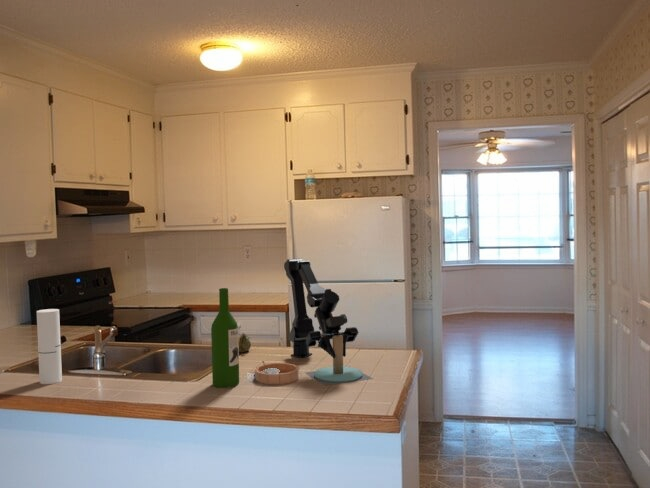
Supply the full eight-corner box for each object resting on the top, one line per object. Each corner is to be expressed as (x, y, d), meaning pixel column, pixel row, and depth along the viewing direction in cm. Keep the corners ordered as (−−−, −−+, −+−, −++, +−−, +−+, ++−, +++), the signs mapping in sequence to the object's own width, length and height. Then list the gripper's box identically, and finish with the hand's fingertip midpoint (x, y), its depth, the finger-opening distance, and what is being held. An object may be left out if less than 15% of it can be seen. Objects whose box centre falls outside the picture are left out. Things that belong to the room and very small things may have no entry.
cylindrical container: (66, 379, 209) (63, 309, 208) (51, 384, 202) (48, 312, 201) (50, 377, 211) (47, 308, 210) (34, 383, 204) (31, 311, 203)
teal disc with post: (331, 366, 218) (330, 329, 218) (371, 373, 209) (370, 334, 208) (304, 377, 204) (303, 338, 204) (346, 385, 195) (345, 343, 194)
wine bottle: (231, 388, 194) (228, 290, 192) (207, 386, 197) (205, 289, 195) (244, 381, 202) (241, 287, 201) (221, 379, 205) (218, 286, 204)
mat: (304, 373, 211) (304, 372, 211) (349, 367, 219) (349, 366, 219) (325, 386, 195) (325, 385, 195) (373, 379, 202) (373, 378, 202)
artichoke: (253, 349, 251) (253, 330, 250) (249, 353, 243) (249, 334, 242) (236, 349, 251) (236, 330, 251) (231, 353, 244) (231, 334, 243)
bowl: (273, 370, 216) (273, 361, 215) (307, 376, 207) (307, 366, 207) (246, 380, 203) (246, 370, 203) (281, 387, 195) (280, 376, 195)
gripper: (308, 309, 205) (321, 346, 196) (355, 304, 213) (370, 341, 203) (300, 327, 213) (312, 364, 203) (346, 322, 220) (360, 358, 211)
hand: (339, 356), depth 205 cm, fingers closed on teal disc with post, 4 cm apart
